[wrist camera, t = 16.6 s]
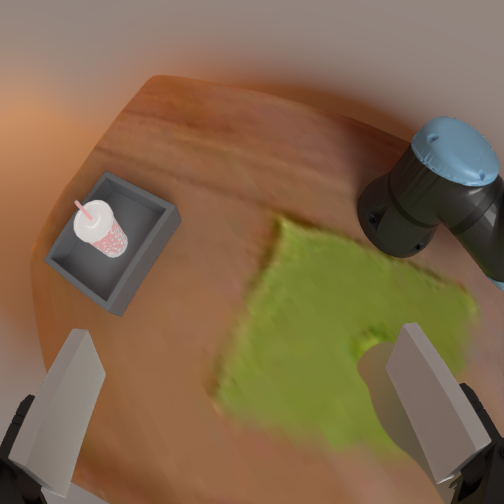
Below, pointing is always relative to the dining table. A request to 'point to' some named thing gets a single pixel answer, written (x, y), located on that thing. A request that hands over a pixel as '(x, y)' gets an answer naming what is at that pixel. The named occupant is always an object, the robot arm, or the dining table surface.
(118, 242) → the beverage cup
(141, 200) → the tote
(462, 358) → the dining table surface
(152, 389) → the dining table surface
